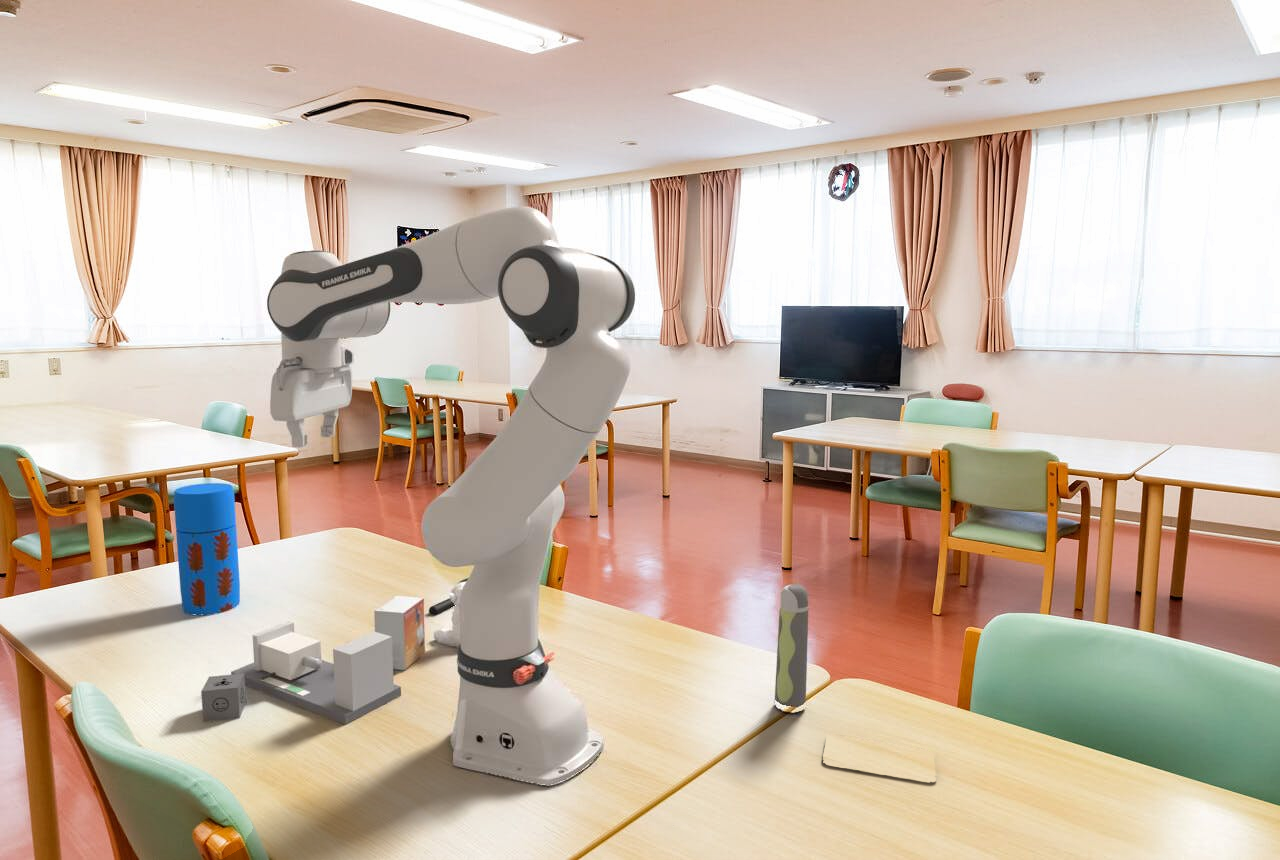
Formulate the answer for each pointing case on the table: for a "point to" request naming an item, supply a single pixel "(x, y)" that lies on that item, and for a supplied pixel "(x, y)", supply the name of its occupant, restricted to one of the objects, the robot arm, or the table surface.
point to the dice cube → (223, 697)
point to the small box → (403, 628)
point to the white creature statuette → (446, 634)
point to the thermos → (207, 548)
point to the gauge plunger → (285, 652)
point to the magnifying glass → (442, 605)
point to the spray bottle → (792, 647)
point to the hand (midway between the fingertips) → (314, 441)
